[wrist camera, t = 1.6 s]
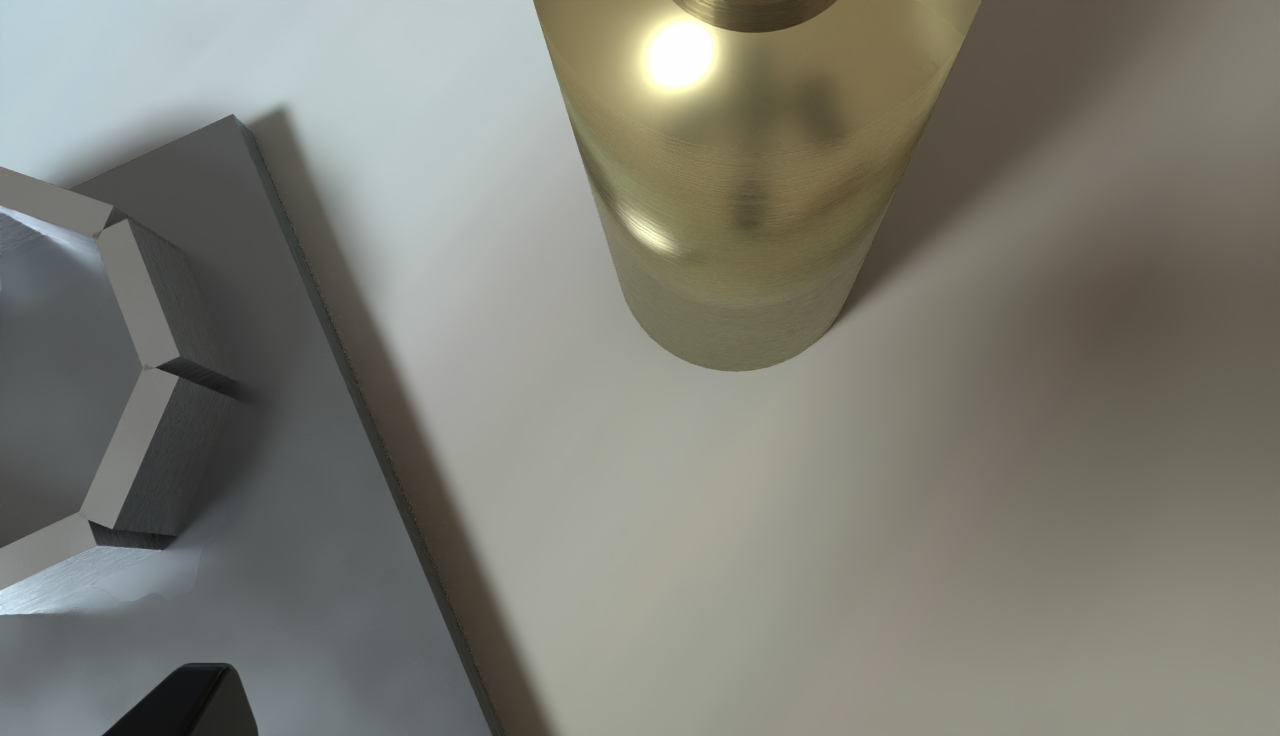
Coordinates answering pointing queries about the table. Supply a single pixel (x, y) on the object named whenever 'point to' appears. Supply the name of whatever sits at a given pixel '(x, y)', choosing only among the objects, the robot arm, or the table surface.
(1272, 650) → the table surface
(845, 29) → the gold capped bottle
